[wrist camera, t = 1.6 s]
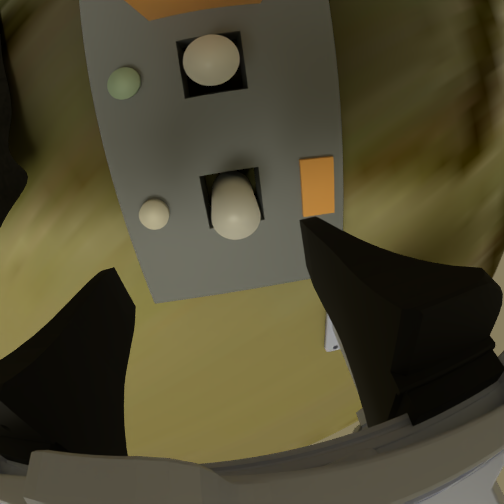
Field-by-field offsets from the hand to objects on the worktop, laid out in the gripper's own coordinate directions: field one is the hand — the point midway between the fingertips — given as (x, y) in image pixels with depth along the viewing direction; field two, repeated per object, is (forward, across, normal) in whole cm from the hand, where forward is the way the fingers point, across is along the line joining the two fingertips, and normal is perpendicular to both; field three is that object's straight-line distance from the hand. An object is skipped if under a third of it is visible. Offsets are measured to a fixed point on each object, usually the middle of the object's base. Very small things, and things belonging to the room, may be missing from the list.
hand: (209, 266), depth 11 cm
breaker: (+7, -2, -7) cm, 10 cm away
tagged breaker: (+7, -1, 0) cm, 7 cm away
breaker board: (+8, -2, -5) cm, 10 cm away
